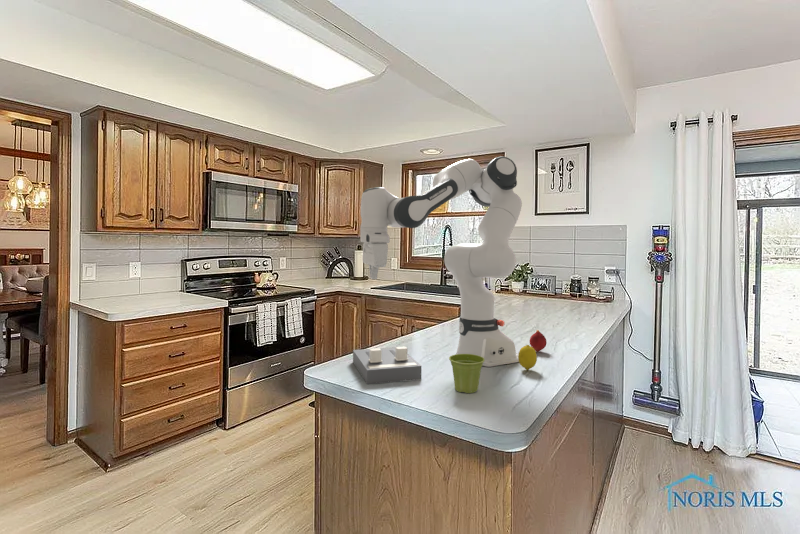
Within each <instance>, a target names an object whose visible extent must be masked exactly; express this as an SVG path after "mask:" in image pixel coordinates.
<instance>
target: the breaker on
mask: <svg viewBox="0 0 800 534" xmlns="http://www.w3.org/2000/svg"><path fill="white" fill-rule="evenodd" d="M395 347H396V351H395V357H394V359H395V360H396V361H403V360H409V359H408V358H407V354H408V347H407V346H395Z"/></svg>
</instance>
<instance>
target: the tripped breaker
mask: <svg viewBox="0 0 800 534" xmlns="http://www.w3.org/2000/svg"><path fill="white" fill-rule="evenodd" d="M380 348H381V347H378V348H376V347H375V348H369V349H370V359H368V360H369V362H370V363H377V362H383V361H382V360H381V349H380Z"/></svg>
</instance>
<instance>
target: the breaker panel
mask: <svg viewBox="0 0 800 534" xmlns="http://www.w3.org/2000/svg"><path fill="white" fill-rule="evenodd" d="M396 347H397V346H393V347H379V348H380V349H381V360H382V361H383V362H377V363H370V362H369V360H368V359H370V349H371V348H364V349H353V350H352V363H353V365H354V366H355V367H356V369H357V371H358V372H359V374H360V375H361V377H362V379H363V380H364V382H365V384H366V385H374V384H385V383H397V382H408V381H418V380H422V365H421V364H420V363H419V362H418V361H417V360H415V358H413V357H412V356H411V355H410V354H408V353H407V358H408V359H409V360H403V361H396V360H395V359H394V357H395V351H396Z"/></svg>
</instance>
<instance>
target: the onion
mask: <svg viewBox="0 0 800 534" xmlns="http://www.w3.org/2000/svg"><path fill="white" fill-rule="evenodd" d="M529 346H531V347H532V348H534V350H535V351H536V353H538V352H541V351H542V350H543V349H545V347H546V346H547V339H546V337H545V335H544V334H543V333H542V332H540V330H539V329H536V332H534V333H532V335H531V336H530V338H529Z"/></svg>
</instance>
